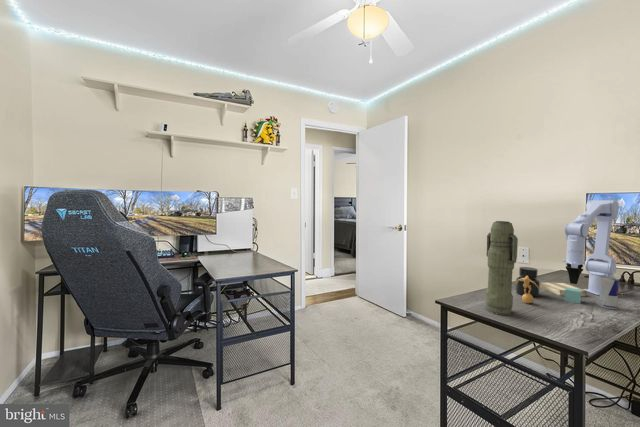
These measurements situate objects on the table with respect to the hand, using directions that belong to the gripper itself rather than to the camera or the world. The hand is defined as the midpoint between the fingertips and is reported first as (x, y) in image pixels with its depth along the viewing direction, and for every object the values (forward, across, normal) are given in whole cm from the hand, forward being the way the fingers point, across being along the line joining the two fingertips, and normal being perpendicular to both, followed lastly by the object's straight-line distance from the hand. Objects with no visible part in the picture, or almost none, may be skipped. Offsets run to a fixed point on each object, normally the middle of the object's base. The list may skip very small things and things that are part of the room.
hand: (573, 281), depth 126 cm
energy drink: (+8, 0, +11) cm, 14 cm away
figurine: (+8, +19, -14) cm, 25 cm away
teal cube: (+8, 0, 0) cm, 8 cm away
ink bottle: (+9, +3, -16) cm, 18 cm away
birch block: (+9, -14, -4) cm, 17 cm away
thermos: (+8, +36, -22) cm, 43 cm away
